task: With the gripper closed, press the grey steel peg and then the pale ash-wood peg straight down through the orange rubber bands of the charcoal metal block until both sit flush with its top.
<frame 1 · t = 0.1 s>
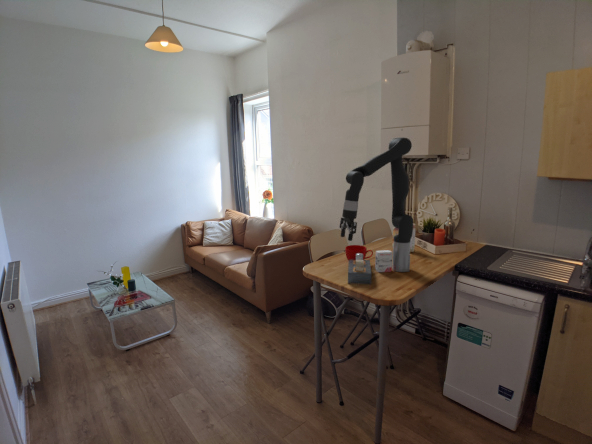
hand: (346, 238, 177), 22 cm above the table, tool pointing down, fingers open, 8 cm apart
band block: (359, 276, 183), on the table
ink box: (383, 270, 191), on the table
steel peg: (359, 258, 187), point 8 cm above the table, slide at 5.0 cm
ceramic cup: (358, 263, 204), on the table
wooden peg: (359, 265, 176), point 8 cm above the table, slide at 5.0 cm
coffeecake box: (402, 249, 232), on the table
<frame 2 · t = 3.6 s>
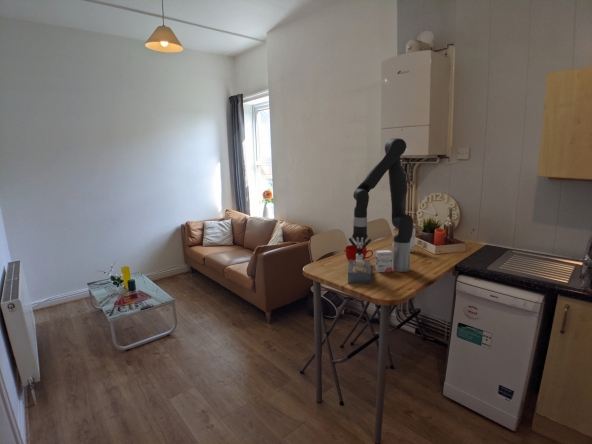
hand: (359, 254, 187), 11 cm above the table, tool pointing down, fingers closed
steel peg: (359, 258, 187), point 8 cm above the table, slide at 4.9 cm, touching gripper
everything else where it was.
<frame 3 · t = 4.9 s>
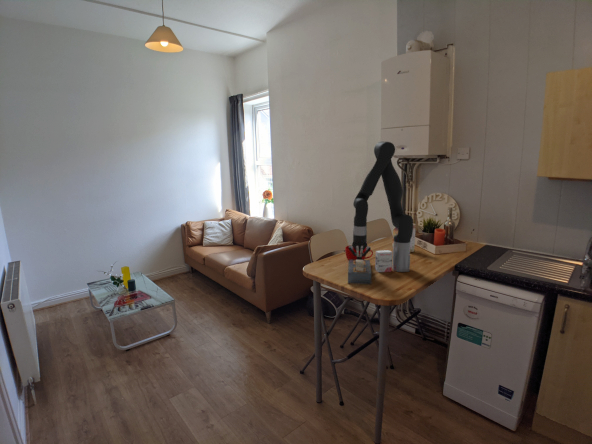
hand: (359, 262, 188), 6 cm above the table, tool pointing down, fingers closed
steel peg: (359, 267, 188), point 3 cm above the table, slide at -0.1 cm, touching gripper
everything else where it was.
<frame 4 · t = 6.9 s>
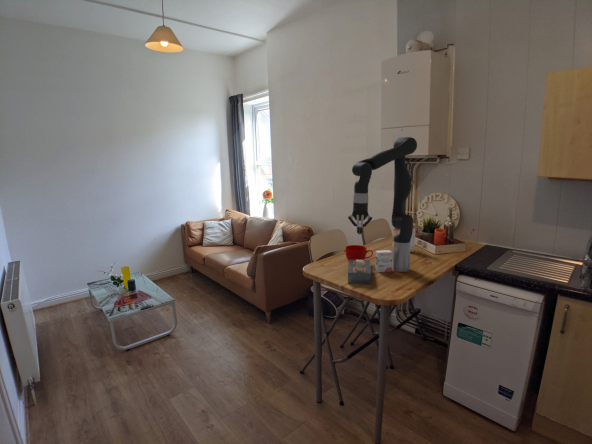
hand: (359, 233, 173), 26 cm above the table, tool pointing down, fingers closed
steel peg: (359, 267, 188), point 3 cm above the table, slide at -0.1 cm
everything else where it was.
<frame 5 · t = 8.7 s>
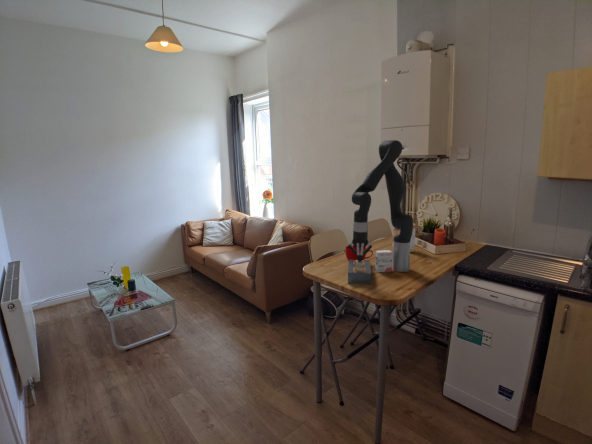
hand: (359, 261, 175), 11 cm above the table, tool pointing down, fingers closed
wooden peg: (359, 266, 176), point 8 cm above the table, slide at 4.7 cm, touching gripper
everything else where it was.
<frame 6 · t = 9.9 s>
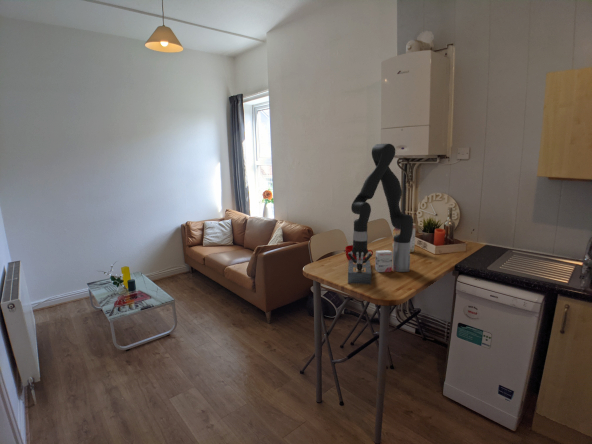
hand: (359, 269, 176), 6 cm above the table, tool pointing down, fingers closed
wooden peg: (359, 274, 177), point 3 cm above the table, slide at -0.1 cm, touching gripper
everything else where it was.
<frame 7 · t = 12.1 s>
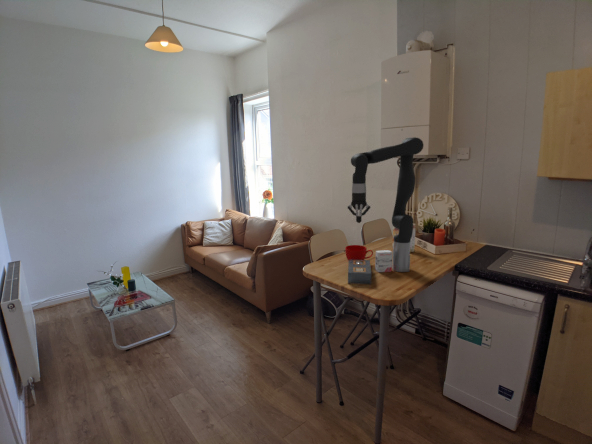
hand: (358, 222, 182), 30 cm above the table, tool pointing down, fingers closed
wooden peg: (359, 274, 177), point 3 cm above the table, slide at -0.1 cm
everything else where it was.
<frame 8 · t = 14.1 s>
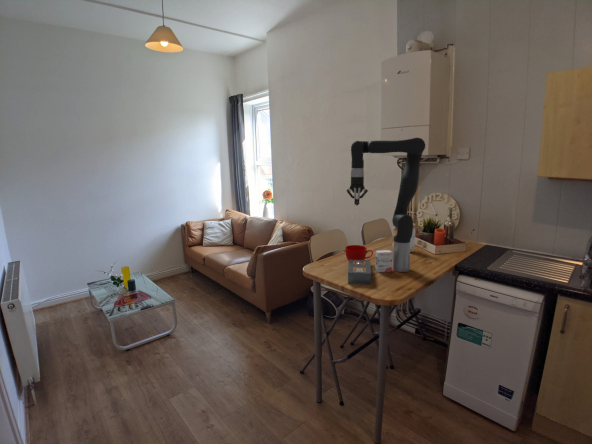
hand: (356, 205, 195), 37 cm above the table, tool pointing down, fingers closed
nothing on the table moved.
at the end: steel peg slide at -0.1 cm; wooden peg slide at -0.1 cm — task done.
